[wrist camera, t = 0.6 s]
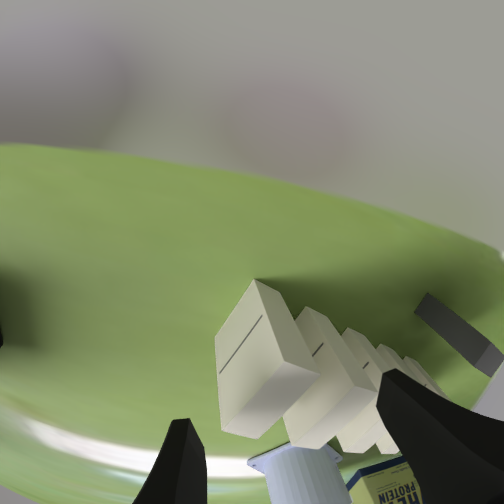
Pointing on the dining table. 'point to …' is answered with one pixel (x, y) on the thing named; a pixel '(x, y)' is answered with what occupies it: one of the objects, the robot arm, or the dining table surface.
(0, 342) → the battery
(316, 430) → the domino
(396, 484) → the protein box
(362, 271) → the dining table surface
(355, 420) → the domino
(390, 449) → the domino
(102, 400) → the dining table surface
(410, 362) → the domino
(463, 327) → the domino
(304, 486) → the robot arm
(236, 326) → the domino
